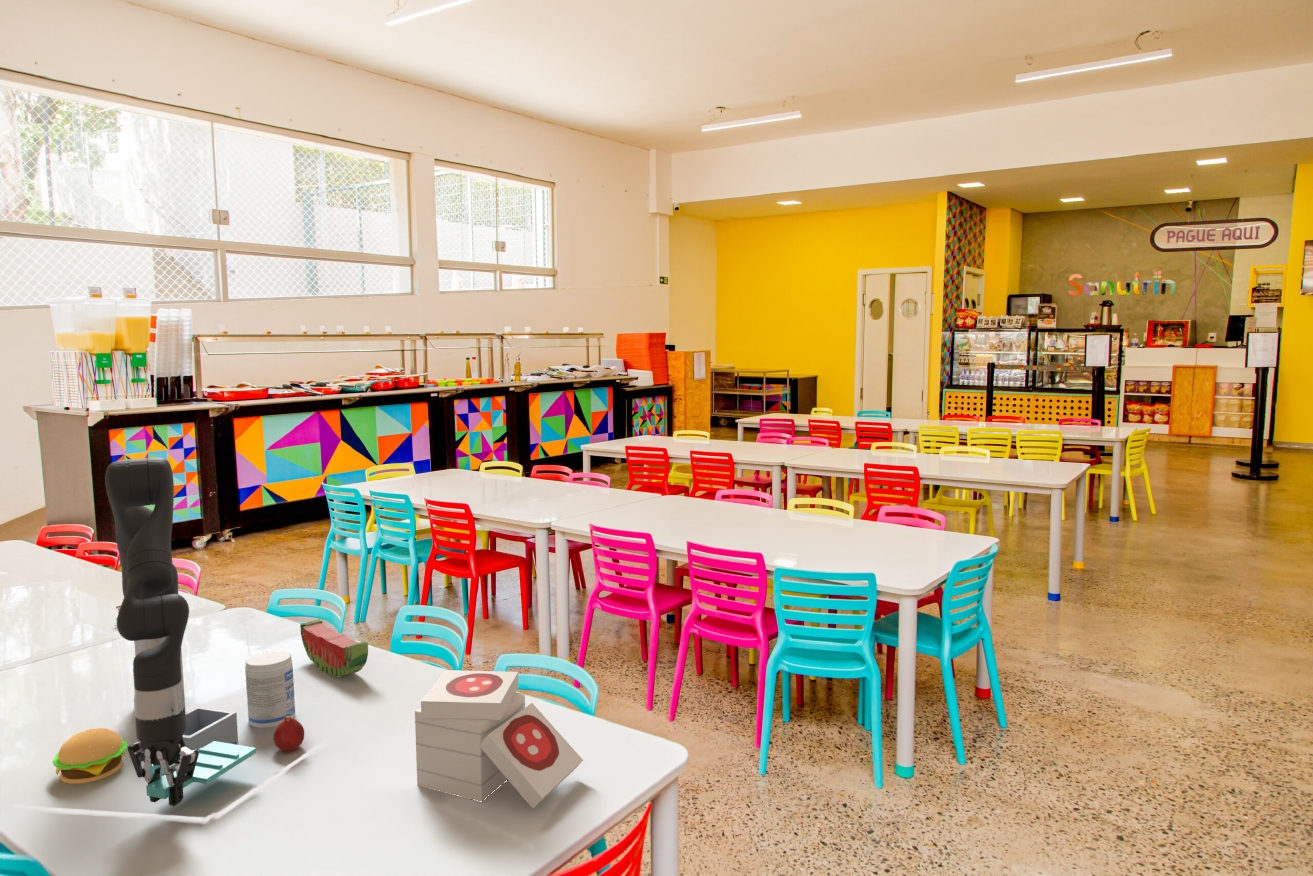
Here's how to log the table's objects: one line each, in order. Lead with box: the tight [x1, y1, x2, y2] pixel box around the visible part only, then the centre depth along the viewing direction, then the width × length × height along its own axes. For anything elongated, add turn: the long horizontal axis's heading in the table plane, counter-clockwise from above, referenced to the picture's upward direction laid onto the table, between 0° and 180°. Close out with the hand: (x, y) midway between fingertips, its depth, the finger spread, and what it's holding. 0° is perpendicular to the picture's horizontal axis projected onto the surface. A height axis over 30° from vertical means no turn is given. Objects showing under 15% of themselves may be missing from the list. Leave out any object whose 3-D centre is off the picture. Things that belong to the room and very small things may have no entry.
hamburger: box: [52, 727, 128, 785], centre depth 161 cm, size 12×12×9 cm
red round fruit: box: [273, 716, 305, 753], centre depth 170 cm, size 6×6×8 cm
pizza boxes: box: [414, 669, 584, 809], centre depth 158 cm, size 19×30×18 cm, turn 66°
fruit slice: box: [299, 618, 369, 678], centre depth 213 cm, size 26×6×10 cm, turn 48°
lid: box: [145, 741, 257, 800], centre depth 152 cm, size 10×18×3 cm, turn 164°
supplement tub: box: [244, 650, 296, 729], centre depth 184 cm, size 10×10×15 cm
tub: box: [171, 706, 239, 766], centre depth 169 cm, size 10×12×7 cm
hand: (166, 801), depth 146 cm, fingers closed on lid, 3 cm apart
